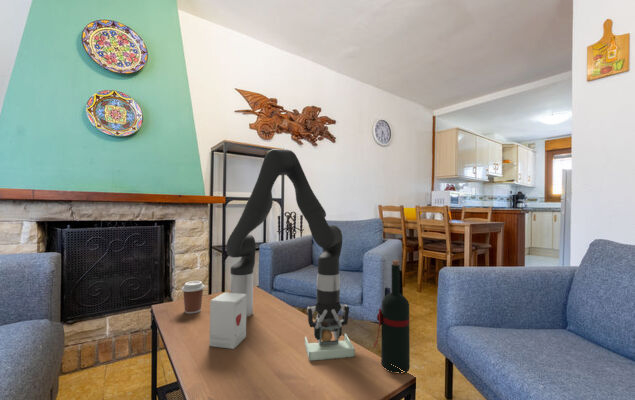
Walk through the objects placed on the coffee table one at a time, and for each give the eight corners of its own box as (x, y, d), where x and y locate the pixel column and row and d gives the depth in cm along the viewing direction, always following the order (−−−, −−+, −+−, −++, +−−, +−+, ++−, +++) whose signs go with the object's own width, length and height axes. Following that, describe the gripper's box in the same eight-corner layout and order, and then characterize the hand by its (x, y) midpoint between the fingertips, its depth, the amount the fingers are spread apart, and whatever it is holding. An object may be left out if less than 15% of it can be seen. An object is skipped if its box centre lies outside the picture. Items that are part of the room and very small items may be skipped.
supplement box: (234, 349, 89) (234, 302, 89) (208, 346, 91) (209, 300, 91) (246, 336, 98) (247, 293, 98) (223, 334, 100) (224, 291, 100)
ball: (321, 336, 91) (321, 346, 92) (333, 335, 92) (332, 344, 93) (319, 327, 95) (318, 336, 96) (330, 326, 96) (329, 335, 97)
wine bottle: (373, 356, 86) (373, 257, 86) (408, 360, 84) (408, 258, 84) (373, 370, 78) (373, 262, 79) (411, 375, 76) (411, 264, 77)
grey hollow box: (316, 331, 96) (317, 314, 94) (333, 330, 97) (335, 313, 95) (319, 345, 90) (320, 327, 88) (338, 344, 91) (339, 326, 89)
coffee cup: (199, 305, 128) (200, 278, 128) (207, 311, 121) (208, 283, 122) (178, 310, 122) (178, 282, 122) (185, 316, 115) (185, 287, 116)
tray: (304, 344, 93) (304, 336, 93) (345, 341, 95) (345, 333, 95) (309, 360, 83) (309, 352, 83) (354, 356, 85) (354, 348, 85)
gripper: (346, 282, 97) (345, 331, 97) (304, 284, 95) (304, 334, 94) (352, 289, 90) (352, 342, 90) (308, 291, 87) (307, 345, 87)
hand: (327, 337), depth 92 cm, fingers closed on grey hollow box, 6 cm apart
